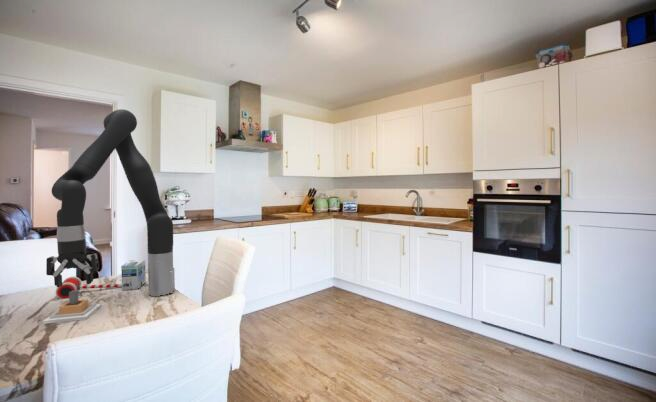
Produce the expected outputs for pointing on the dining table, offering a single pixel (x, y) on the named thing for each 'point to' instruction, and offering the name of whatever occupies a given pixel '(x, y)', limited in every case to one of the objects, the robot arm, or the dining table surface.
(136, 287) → the light bulb box
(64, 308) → the ring
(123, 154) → the robot arm
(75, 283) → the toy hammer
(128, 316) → the dining table surface
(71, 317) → the post base
